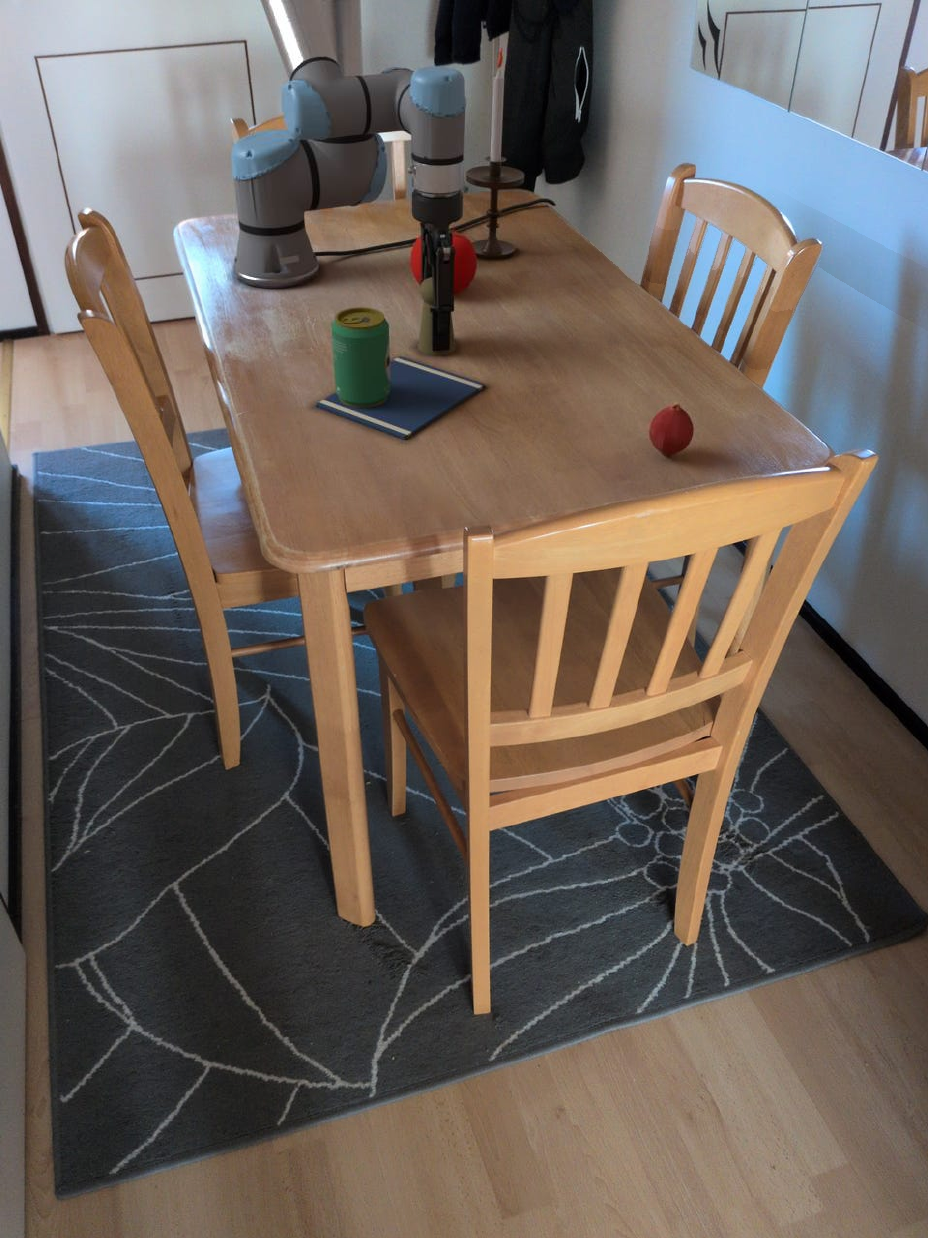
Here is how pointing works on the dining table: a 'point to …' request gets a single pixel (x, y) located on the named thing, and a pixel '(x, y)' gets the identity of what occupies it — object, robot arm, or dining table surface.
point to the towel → (409, 399)
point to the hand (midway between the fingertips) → (436, 341)
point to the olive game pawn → (430, 322)
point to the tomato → (462, 263)
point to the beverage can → (361, 357)
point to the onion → (671, 430)
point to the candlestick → (495, 179)
